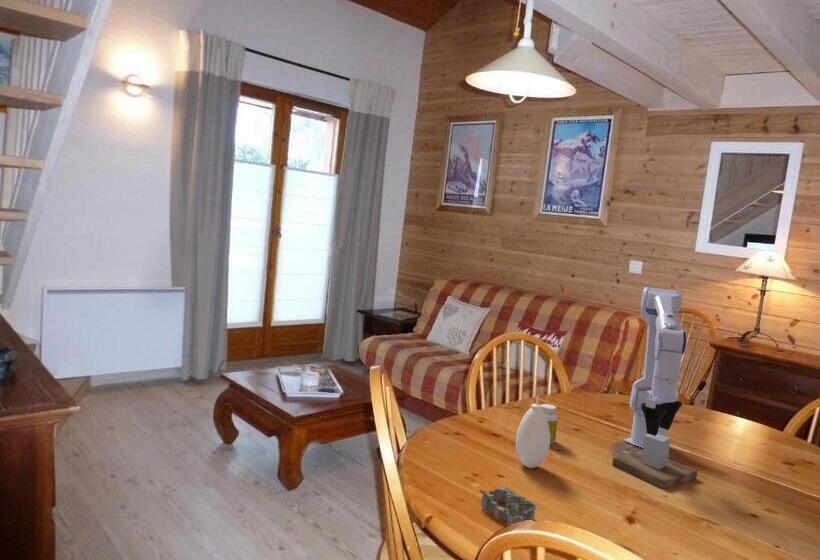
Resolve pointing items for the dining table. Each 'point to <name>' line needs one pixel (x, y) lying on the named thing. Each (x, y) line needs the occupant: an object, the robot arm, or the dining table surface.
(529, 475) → the dining table surface
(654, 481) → the walnut board
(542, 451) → the sauce bottle
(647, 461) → the blue-grey block
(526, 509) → the grey hollow block
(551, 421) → the supplement bottle
